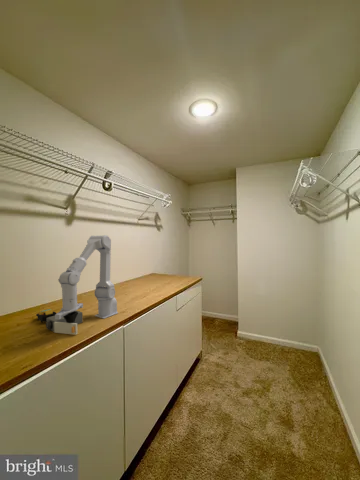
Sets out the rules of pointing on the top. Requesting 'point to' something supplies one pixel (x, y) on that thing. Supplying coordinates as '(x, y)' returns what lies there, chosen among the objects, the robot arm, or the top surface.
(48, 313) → the gadget
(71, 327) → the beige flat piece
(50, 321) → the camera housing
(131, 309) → the top surface
